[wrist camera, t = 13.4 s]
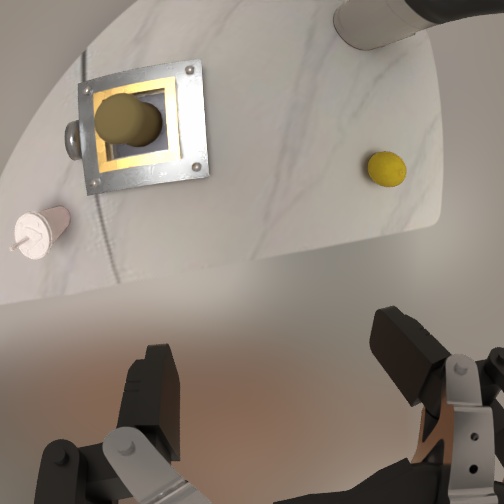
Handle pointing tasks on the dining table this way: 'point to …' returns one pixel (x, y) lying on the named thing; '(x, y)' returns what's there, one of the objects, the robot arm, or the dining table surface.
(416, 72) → the dining table surface
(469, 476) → the robot arm
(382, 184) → the lemon
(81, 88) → the square socket fixture
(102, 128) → the olive pestle shaped cylinder
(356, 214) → the dining table surface
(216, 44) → the dining table surface
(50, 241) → the smoothie
